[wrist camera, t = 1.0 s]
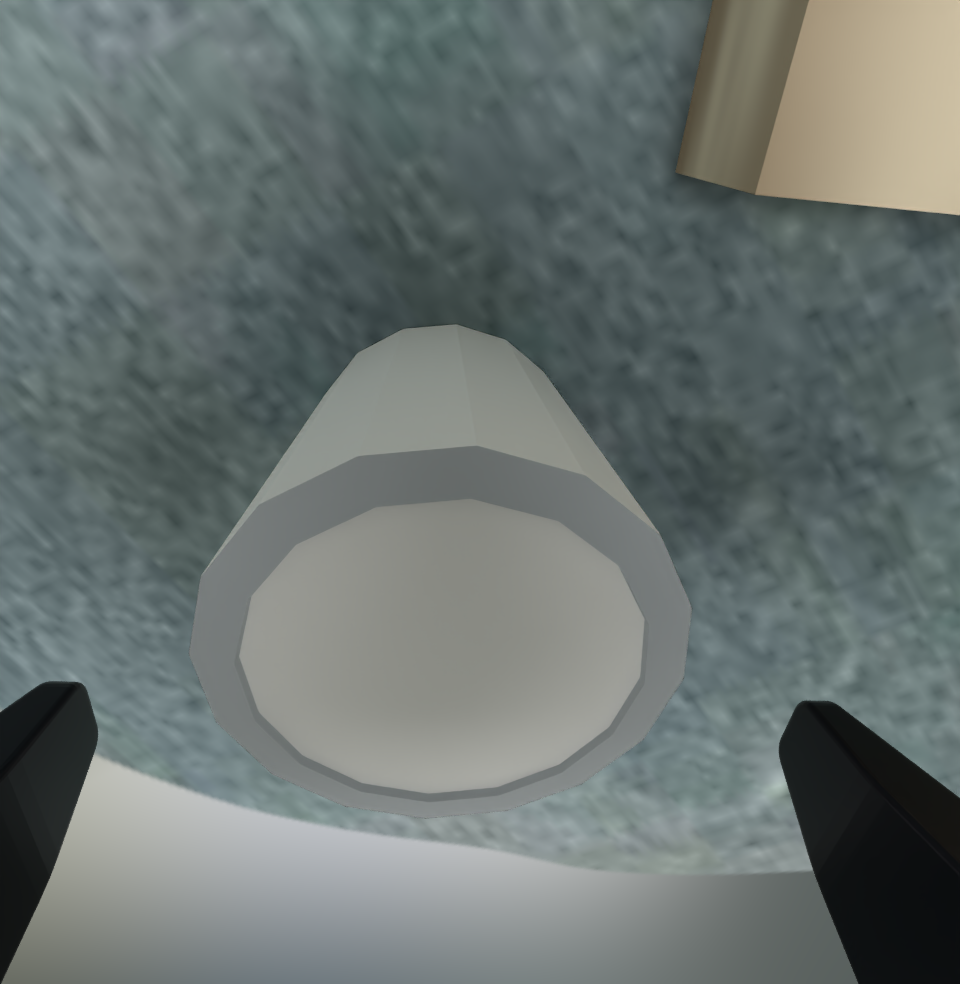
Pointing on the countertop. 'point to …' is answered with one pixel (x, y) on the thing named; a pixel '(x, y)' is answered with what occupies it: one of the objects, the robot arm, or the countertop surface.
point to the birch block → (830, 102)
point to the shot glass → (440, 592)
